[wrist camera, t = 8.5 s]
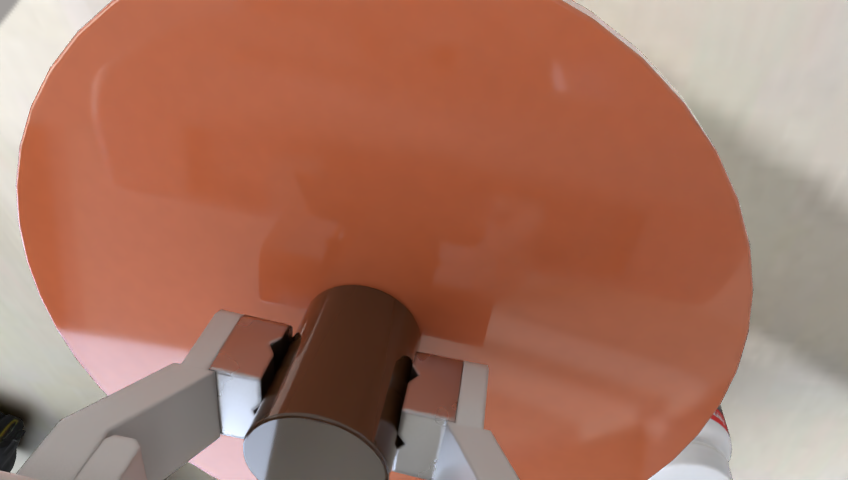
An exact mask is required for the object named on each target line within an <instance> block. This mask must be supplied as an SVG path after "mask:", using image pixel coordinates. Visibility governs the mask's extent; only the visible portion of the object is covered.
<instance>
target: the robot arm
mask: <svg viewBox="0 0 848 480" xmlns="http://www.w3.org/2000/svg"><path fill="white" fill-rule="evenodd" d="M292 338H293V327H292V326H291V325H288V324H284V323H280V322H275V321H271V320H267V319H263V318H258V317H254V316H250V315H246V314H245V315H243V314H239V313H235V312H231V311H227V310H222V309H221V310H220V311H218V312H217V313H216V314H215V315H214V316H213V318H212V319H211V321H210V322H209V323H208V325H207V326H206V328H205V329H204V331H203V332H202V334H201V335H200V337H199V338H198V340H197V341H196V343H195V344H194V346H193V347H192V349H191V350H190V351H189V353H188V354H187V356H186V357H185V359H184V360H183V362H182V363H181V364H179V363H172V364H170V365H168V366H166V367H164V368H162V369H160V370H158V371H156V372H154V373H152V374H151V375H149V376H147V377H145V378H143V379H141V380H139V381H137V382H135V383H133V384H131V385H129V386H127V387H125V388H123V389H121V390H119V391H117V392H115V393H113V394H111V395H109V396H107V397H105V398H103V399H101V400H99V401H97V402H95V403H93V404H91V405H89V406H87V407H85V408H83V409H81V410H79V411H77V412H75V413H73V414H71V415H69V416H67V417H65V418H63V419H61V420H60V421H59V422H58V423H57V424H56V426H55V427H54V428H53V429H52V430H51V432H50V433H49V434H48V435H47V437H46V438H45V439H44V440H43V441H42V443H41V444H40V445H39V446H38V447H37V449H36V450H35V451H34V452H33V454H32V455H31V456H30V457H29V458H28V460H27V461H26V462H25V463H24V465H23V466H22V467H21V468H20V469H19V471H18V472H17V473H16V474H14V473H9V472H5V471H1V470H0V480H164V479H166V478H167V477H168V476H170V475H171V474H172V473H174V472H175V471H176V470H178V469H179V468H180V467H181V466H183V465H184V464H185V463H187V462H188V461H189V460H191V459H192V458H193V457H195V456H196V455H197V454H199V453H200V452H201V451H203V450H204V449H205V448H207V447H208V446H209V445H211V444H212V443H213V442H215V441H216V440H217V439H219V438H220V435H226V436H231V437H236V438H241V439H244V437H245V434H246V432H247V430H248V428H249V426H250V424H251V422H252V420H253V418H254V416H255V414H256V412H257V410H258V408H259V406H260V404H261V402H262V399H263V397H264V395H265V393H266V391H267V389H268V387H269V385H270V383H271V381H272V379H273V377H274V375H275V373H276V371H277V369H278V367H279V365H280V363H281V360H282V358H283V356H284V354H285V352H286V350H287V348H288V346H289V344H290V342H291V340H292ZM488 373H489V368H488V365H484V364H479V363H474V362H469V361H463V360H459V359H454V358H449V357H444V356H439V355H434V354H429V353H424V352H419V351H416V353H415V357H414V361H413V365H412V370H411V375H410V381H409V383H408V386H407V390H406V395H405V399H404V403H403V408H402V413H401V418H400V424H399V429H398V435H399V440H398V444H397V448H396V453H395V457H394V461H393V466H392V471H393V472H397V473H401V474H405V475H409V476H413V477H417V478H421V479H425V480H520V479H519V477H518V476H517V474H516V472H515V471H514V469H513V467H512V466H511V464H510V462H509V461H508V459H507V457H506V456H505V454H504V452H503V451H502V449H501V447H500V446H499V444H498V442H497V440H496V439H495V437H494V435H493V434H492V432H491V431H489V430H485V429H484V418H485V407H486V396H487V385H488Z"/></svg>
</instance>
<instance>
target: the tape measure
mask: <svg viewBox="0 0 848 480" xmlns="http://www.w3.org/2000/svg"><path fill="white" fill-rule="evenodd" d="M23 427H24V423H23V421H22V419H20V418H18V417H15V416H12V415H4V414H3V413H2V412H0V470H1V471H5V472H9V473H10V471H11V470H12V468H13V466H14V463H15V460H16V449H17V446H18V444H19V441H20V438H21V436H23V435H24V434H25V430H23Z"/></svg>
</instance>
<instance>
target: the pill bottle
mask: <svg viewBox="0 0 848 480" xmlns="http://www.w3.org/2000/svg"><path fill="white" fill-rule="evenodd" d="M731 453H732V445H731V439H730V435H729V432H728V429H727V425H726V422H725V419H724V415H723V412H722V409H721V406H720V405H719V407H718V408H717V410H716V411H715V412H714V414H713V415H712V416H711V418H710V419H709V421H708V422H707V423H706V425H705V426H704V428H703V429H702V430H701V432H700V433H699V434H698V435H697V437H696V438H695V439H694V440H693V441H692V442H691V443H690V444H689V445H688V446H687V447H686V448H685V449H684V450H683V451H682V452H681V453H680V454H679V455H678V456H677V457H676V458H675V459H674V460H673V461H672V462H670V463H669V464H668V465H666V466H665V467H664V468H662V469H661V470H660V471H659V472H657V473H656V474H655V475H653V476H652V477H651V478H649V479H648V480H733V479H732V475H731V472H730V468H729V463H728V462H729V460H730V457H731Z"/></svg>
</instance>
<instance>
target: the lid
mask: <svg viewBox="0 0 848 480" xmlns="http://www.w3.org/2000/svg"><path fill="white" fill-rule="evenodd" d="M16 192H17V207H18V222H19V228H20V232H21V237H22V241H23V246H24V251H25V255H26V260H27V263H28V265H29V268H30V271H31V274H32V276H33V279H34V282H35V285H36V287H37V290H38V293H39V295H40V297H41V299H42V301H43V303H44V305H45V307H46V309H47V311H48V313H49V315H50V317H51V319H52V321H53V323H54V325H55V327H56V329H57V330H58V332H59V333H60V335H61V336H62V338H63V339H64V341H65V342H66V344H67V345H68V347H69V348H70V350H71V351H72V353H73V355H74V356H75V358H76V359H77V360H78V361H79V363H80V364H81V365H82V366H83V368H84V369H85V370H86V371H87V373H88V374H89V375H90V376H91V377H92V379H93V380H94V381H95V382H96V384H97V385H98V386H99V387H100V388H101V389H102V390H103V391H104V392H105V393H106V394H107V395H108V396H109V395H111V394H113V393H115V392H117V391H119V390H121V389H123V388H125V387H127V386H129V385H131V384H133V383H135V382H137V381H139V380H141V379H143V378H145V377H147V376H149V375H151V374H152V373H154V372H156V371H158V370H160V369H162V368H164V367H166V366H168V365H170V364H172V363H179V364H181V363H182V362H183V360H184V359H185V357H186V356H187V354H188V353H189V351H190V350H191V349H192V347H193V346H194V344H195V343H196V341H197V340H198V338H199V337H200V335H201V334H202V332H203V331H204V329H205V328H206V326H207V325H208V323H209V322H210V321H211V319H212V318H213V316H214V315H215V314H216V313H217V312H218V311H220V310H221V309H222V310H227V311H231V312H235V313H239V314H243V315H245V314H246V315H250V316H254V317H258V318H263V319H267V320H271V321H275V322H280V323H284V324H288V325H291V326H292V327H293V338H292V340H291V342H290V344H289V346H288V348H287V350H286V352H285V354H284V356H283V358H282V360H281V363H280V365H279V367H278V369H277V371H276V373H275V375H274V377H273V379H272V381H271V383H270V385H269V387H268V389H267V391H266V393H265V395H264V397H263V399H262V402H261V404H260V406H259V408H258V410H257V412H256V414H255V416H254V418H253V420H252V422H251V424H250V426H249V428H248V430H247V432H246V434H245V437H244V439H241V438H236V437H231V436H226V435H220V438H219V439H217V440H216V441H215V442H213V443H212V444H211V445H209V446H208V447H207V448H205V449H204V450H203V451H201V452H200V453H199V454H197V455H196V456H195V457H193V458H192V459H191V460H189V461H188V462H189V463H191V464H193V465H194V466H196V467H197V468H199V469H201V470H202V471H204V472H206V473H207V474H209V475H210V476H212V477H214V478H216V479H218V480H425V479H421V478H417V477H413V476H409V475H405V474H401V473H397V472H393V471H392V466H393V461H394V457H395V453H396V448H397V444H398V440H399V435H398V429H399V424H400V418H401V413H402V408H403V403H404V399H405V395H406V390H407V386H408V383H409V381H410V375H411V370H412V365H413V361H414V357H415V353H416V351H419V352H424V353H429V354H434V355H439V356H444V357H449V358H454V359H459V360H463V361H469V362H474V363H479V364H484V365H488V368H489V373H488V385H487V396H486V407H485V418H484V429H485V430H489V431H491V432H492V434H493V435H494V437H495V439H496V440H497V442H498V444H499V446H500V447H501V449H502V451H503V452H504V454H505V456H506V457H507V459H508V461H509V462H510V464H511V466H512V467H513V469H514V471H515V472H516V474H517V476H518V477H519V479H520V480H648V479H649V478H651V477H652V476H653V475H655V474H656V473H657V472H659V471H660V470H661V469H662V468H664V467H665V466H666V465H668V464H669V463H670V462H672V461H673V460H674V459H675V458H676V457H677V456H678V455H679V454H680V453H681V452H682V451H683V450H684V449H685V448H686V447H687V446H688V445H689V444H690V443H691V442H692V441H693V440H694V439H695V438H696V437H697V435H698V434H699V433H700V432H701V430H702V429H703V428H704V426H705V425H706V423H707V422H708V421H709V419H710V418H711V416H712V415H713V414H714V412H715V411H716V410H717V408H718V407H719V405H720V404H721V402H722V400H723V398H724V396H725V394H726V392H727V390H728V388H729V386H730V384H731V382H732V380H733V378H734V376H735V374H736V372H737V369H738V366H739V362H740V359H741V356H742V352H743V349H744V346H745V342H746V339H747V335H748V332H749V324H750V315H751V306H752V297H753V278H752V264H751V250H750V242H749V239H748V235H747V231H746V227H745V223H744V219H743V215H742V211H741V207H740V203H739V199H738V197H737V194H736V192H735V190H734V188H733V186H732V183H731V181H730V179H729V177H728V175H727V172H726V170H725V168H724V166H723V163H722V161H721V159H720V157H719V155H718V152H717V150H716V148H715V147H714V145H713V143H712V141H711V140H710V138H709V136H708V135H707V133H706V132H705V130H704V129H703V127H702V126H701V124H700V123H699V122H698V120H697V119H696V117H695V116H694V114H693V113H692V111H691V110H690V108H689V107H688V105H687V104H686V102H685V101H684V99H683V98H682V96H681V95H680V93H679V92H678V91H677V90H676V89H675V88H674V87H673V86H672V84H671V83H670V82H669V81H668V80H667V79H666V78H665V77H664V76H663V75H662V74H661V73H660V72H659V70H658V69H657V68H656V67H655V66H654V65H653V64H652V63H651V62H650V61H649V60H648V59H647V57H646V56H645V55H644V54H643V53H642V52H641V51H640V50H639V49H638V48H637V47H635V46H634V45H633V44H632V43H630V42H629V41H628V40H627V39H625V38H624V37H623V36H621V35H620V34H619V33H618V32H616V31H615V30H614V29H613V28H611V27H610V26H609V25H608V24H606V23H605V22H604V21H603V20H601V19H600V18H599V17H598V16H596V15H595V14H594V13H593V12H591V11H590V10H588V9H587V8H585V7H583V6H581V5H580V4H578V3H576V2H575V1H573V0H112V1H111V2H110V3H108V4H107V5H106V6H105V7H104V8H103V9H102V10H101V11H100V12H98V13H97V14H96V15H95V16H94V17H93V18H92V19H91V20H90V21H88V22H87V23H86V24H85V25H84V26H83V27H82V28H81V29H80V30H78V31H77V33H76V34H75V35H74V37H73V38H72V39H71V41H70V42H69V43H68V45H67V46H66V47H65V49H64V50H63V51H62V53H61V54H60V55H59V56H58V58H57V59H56V60H55V62H54V63H53V64H52V66H51V67H50V69H49V71H48V73H47V75H46V77H45V79H44V81H43V83H42V85H41V87H40V89H39V91H38V93H37V95H36V97H35V99H34V101H33V103H32V105H31V108H30V112H29V115H28V119H27V122H26V126H25V129H24V133H23V137H22V140H21V144H20V149H19V160H18V170H17V180H16Z"/></svg>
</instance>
